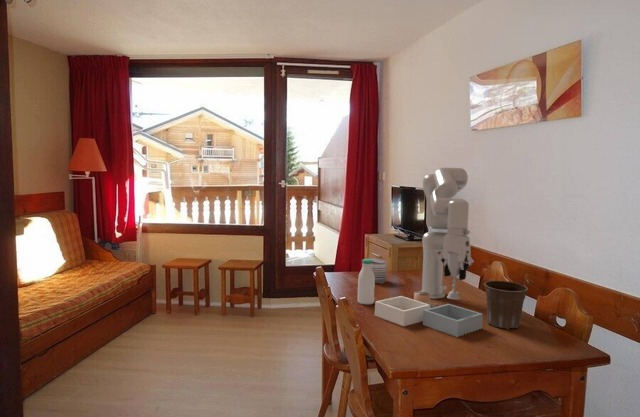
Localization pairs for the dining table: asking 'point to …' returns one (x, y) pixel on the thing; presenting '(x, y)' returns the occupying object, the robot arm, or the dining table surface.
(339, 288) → the dining table surface
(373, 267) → the can
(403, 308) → the frame
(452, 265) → the chalice
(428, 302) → the walnut block
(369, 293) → the milk bottle
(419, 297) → the terracotta pot
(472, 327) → the frame
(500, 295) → the plant pot
